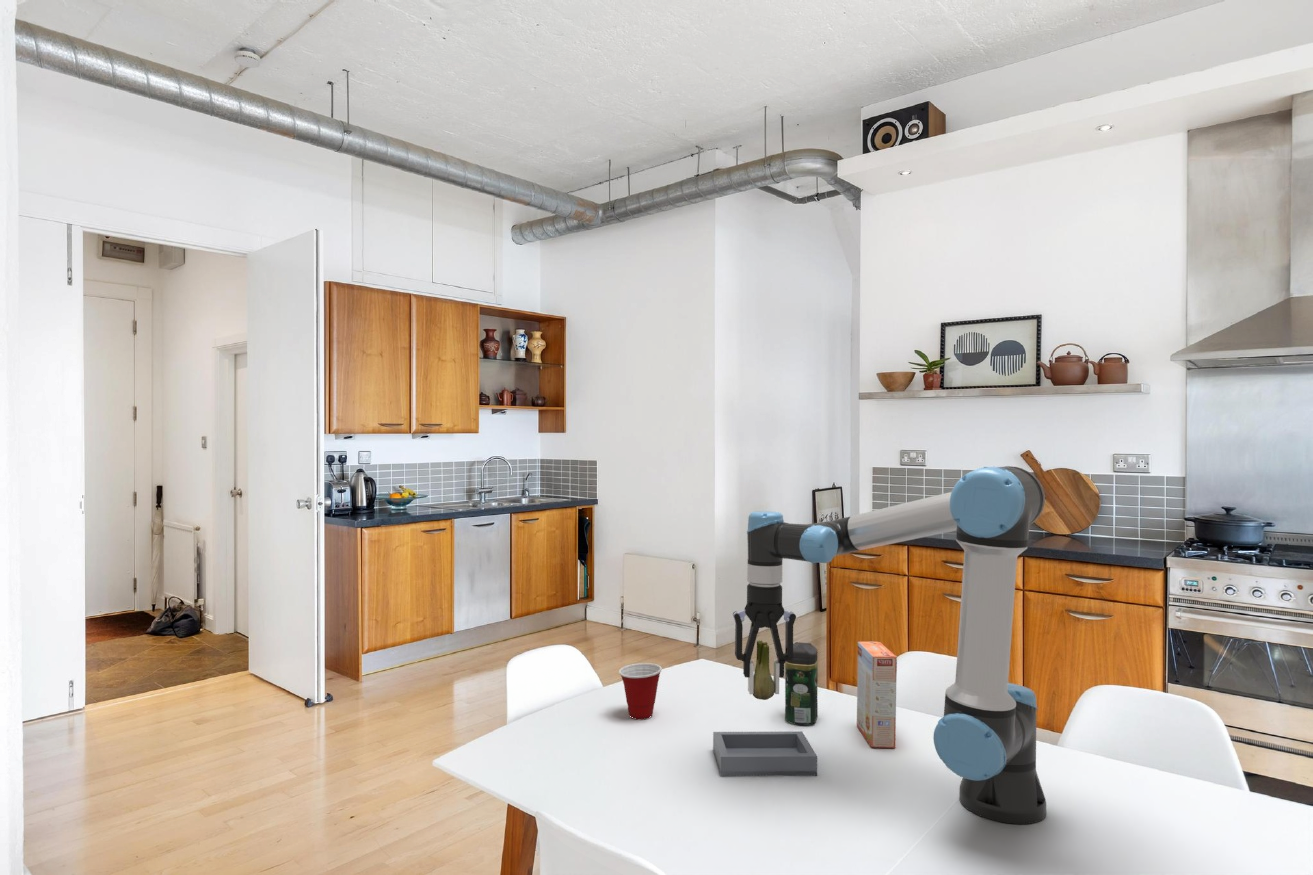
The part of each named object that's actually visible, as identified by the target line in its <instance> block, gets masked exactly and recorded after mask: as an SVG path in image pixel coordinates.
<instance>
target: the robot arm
mask: <svg viewBox="0 0 1313 875" xmlns="http://www.w3.org/2000/svg"><path fill="white" fill-rule="evenodd" d="M1045 505H1046V496H1045V490H1044V487H1043V485H1042V483H1041V482H1040V481H1039V479H1038V478H1037V477H1036V476H1035V475H1034V474H1033V473H1031V472H1030V471H1028V470H1027V469H1024V468H1022V467H1018V466H1009V465H1007V466H983V467H979V468H977V469H974V470H971V471H970V472H967V473H966V474H964V475H963V476H962V477H960V478H959V479H958V480H957V482H955V485H954V486H953V488H952V490H951V491H950V492H946V493H941V494H937V495H933V496H929V497H925V498H921V499H916V500H913V501H908V502H904V503H900V504H896V505H891V506H887V507H884V508H880V509H875V510H870V511H867V512H863V513H859V514H854V515H850V516H847V517H842V518H838V519H834V520H829V521H827V520H826V521H821V522H813V523H807V524H806V523H803V524H802V523H789V522H784V521H785V520H784V515H783V514H782V512H779V511H778V512H777V511H769V510H768V511H767V510H766V511H764V510H762V511H752V512H750V513H749V515H748V517H747V519H748V520H747V521H748V523H747V531H746V535H747V564H746V565H747V569H746V570H747V571H746V572H747V575H746V577H747V578H746V580H747V582H748V584H747V586H746V605H745V606H744V609H743V610H740V611H737V610H736V611H733V612H732V616H733V620H734V622H735V629H734V632H735V633H734V634H735V635H734V656H735V658H736V659H737V660H738V661H740V662H741V661H742V662H743V666H742V667H743V670H742V671H743V672H742V674H743V677H744V678H747V691H748V693H749V694H750V695H753V688H754V672H755V667H754V665H755V663H754V662H753V660H752V656H753V651H754V648H755V644H756V642H757V637H758V633H759V631H760V629H762V628H768V629H769V630H770V633H771V638H772V641H773V646H774V650H775V656H776V658H777V659H774V660H773V677H772V679H773V682H774V685H775V693H774V695H780V678H785V661H787V660H792V659H793V644H794V626H795V621H796V618H797V615H796V614H795V613H794V612H793V611H787V610H785V608H784V606H783V586H782V585H781V584H782V583H783V559H786V560H787V559H788V560H793V561H801V562H807V563H811V564H817V563H819V564H828V563H831V562H832V561H833V558H835V557H836V556H841V555H846V554H850V553H854V552H858V551H862V550H868V549H872V548H877V547H881V546H883V547H884V546H887V545H892V544H898V543H902V542H907V541H911V540H916V539H922V538H926V537H931V536H935V535H941V534H945V533H946V534H947V533H950V532H956V538H955V541H956V542H957V543H958V544H959V546H960V547H961V548H962V549H963V551H964V553H963V566H962V580H961V584H962V585H961V592H960V593H961V596H960V597H961V598H960V609H959V622H958V641H957V651H956V652H957V653H956V666H955V667H956V668H955V681H954V682H953V683H952V684H951V685H950V686H948V687H946V689H945V693H944V694H945V695H944V706H943V707H944V708H943V716H942V717H941V718H940V719H939V720H938V721H937V724H936V726H935V728H934V729H933V730H934V731H933V737H932V738H933V745H934V749H935V752H936V754H937V756H938V757H939V759H940V760H941V761H942V762H943V763H944V764H945V766H946V768H948V769H949V770H950V771H951V772H952V773H954V774H955V775H957V776H959V777H961V778H962V779H961V782H960V784H959V790H958V792H959V794H958V795H959V796H958V799H959V802H960V804H961V805H962V807H964V808H965V809H967V810H968V811H970V812H971V813H973V814H975V815H977V816H980V817H983V818H986V819H989V820H992V821H995V822H1000V823H1004V824H1005V823H1006V824H1015V825H1017V824H1019V825H1024V824H1025V825H1026V824H1033V823H1037V822H1040V821H1041V820H1043V819H1044V818H1045V817H1046V816H1047V801H1046V797H1045V794H1044V790H1043V787H1042V785H1041V781H1040V778H1039V775H1038V772H1037V710H1038V706H1037V697H1036V694H1035V692H1034V690H1032V689H1031V688H1028V687H1026V686H1023V685H1021V684H1016V683H1012V682H1009V678H1010V677H1009V675H1010V660H1011V648H1012V634H1013V633H1012V632H1013V621H1014V606H1015V596H1016V595H1015V593H1016V577H1017V565H1018V557H1019V556H1020V555H1021V554H1022V553H1023V552H1024V551H1026V550H1028V546H1029V536H1030V535H1029V534H1030V525H1032V524H1034V522H1036V521H1037V520H1038V519H1039V517H1040V516H1041V514H1042V513H1043V510H1044V507H1045ZM745 617H747V618H748V619H749V621H750V622H751V624H750V629H749V634H748V635H747V636H748V637H747V640H746V644H745V649H744V653H743V622H744V621H745ZM782 617H783V620H784V621H785V626H784V627H785V628H784V629H785V632H784V634H785V640H784V641H785V642H784V643H785V645H784V646H785V647H784V649H785V650H784V651H785V652H784V651H783V646H782V643H781V638H780V634H779V628H778V625H777V624H778V623H779V621H780V620H781V618H782Z"/></svg>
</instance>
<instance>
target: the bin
mask: <svg viewBox="0 0 1313 875" xmlns="http://www.w3.org/2000/svg"><path fill="white" fill-rule="evenodd" d="M712 733H713V734H712V735H713V736H712V746H713V747H712V751H713V754H714V758H715V762H716V765H717V768H718V771H719V776H720V777H804V776H805V777H807V776H808V777H809V776H810V777H811V776H813V777H817V776H818V755H817V754H816V753H817V752H816V751H815V750H814V748H813V747H812V745H811V743H810V742H809V740H808V738H807V737H806V735H805V734H804V732H803V731H801V730H800V731H799V730H798V731H793V730H792V731H790V730H789V731H788V730H787V731H713V732H712Z"/></svg>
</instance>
